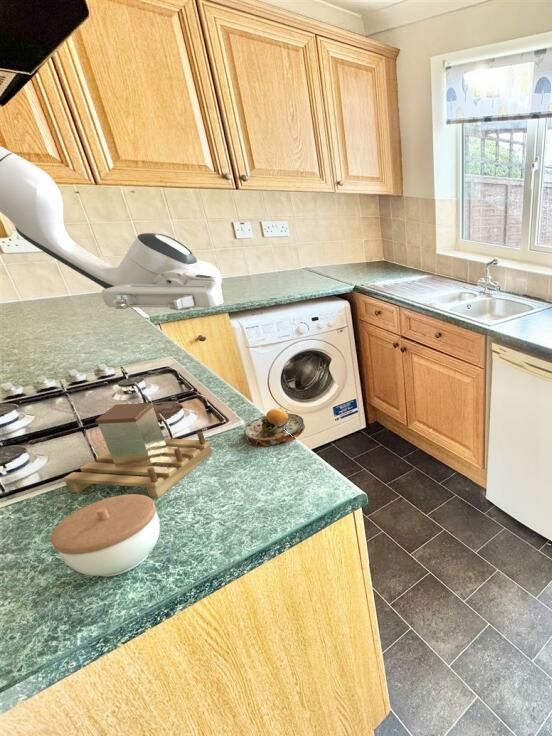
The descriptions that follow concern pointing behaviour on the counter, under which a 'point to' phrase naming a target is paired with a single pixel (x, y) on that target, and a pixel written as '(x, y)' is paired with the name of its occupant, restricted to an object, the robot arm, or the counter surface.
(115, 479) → the rack
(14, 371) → the counter surface
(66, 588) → the counter surface
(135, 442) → the tea tin
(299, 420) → the open sandwich
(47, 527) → the counter surface
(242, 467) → the counter surface
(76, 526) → the trinket box
